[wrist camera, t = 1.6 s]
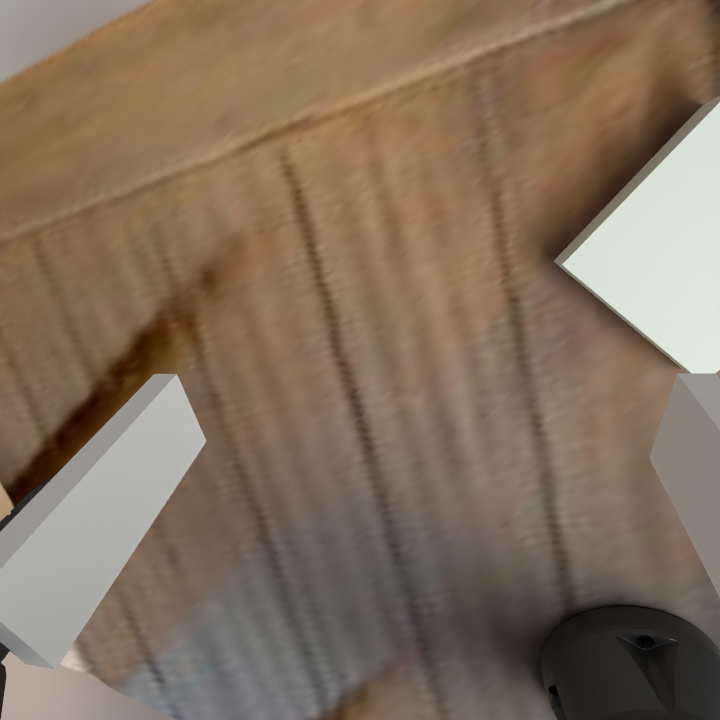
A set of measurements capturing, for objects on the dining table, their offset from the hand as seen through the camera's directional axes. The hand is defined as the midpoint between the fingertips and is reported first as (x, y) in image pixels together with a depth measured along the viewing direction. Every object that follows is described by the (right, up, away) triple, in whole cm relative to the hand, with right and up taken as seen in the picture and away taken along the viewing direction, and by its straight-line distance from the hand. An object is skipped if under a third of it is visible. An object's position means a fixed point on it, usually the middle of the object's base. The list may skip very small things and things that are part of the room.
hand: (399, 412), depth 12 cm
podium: (+21, +9, +17) cm, 28 cm away
